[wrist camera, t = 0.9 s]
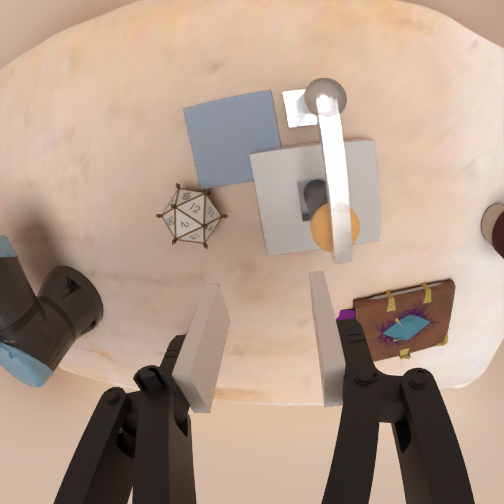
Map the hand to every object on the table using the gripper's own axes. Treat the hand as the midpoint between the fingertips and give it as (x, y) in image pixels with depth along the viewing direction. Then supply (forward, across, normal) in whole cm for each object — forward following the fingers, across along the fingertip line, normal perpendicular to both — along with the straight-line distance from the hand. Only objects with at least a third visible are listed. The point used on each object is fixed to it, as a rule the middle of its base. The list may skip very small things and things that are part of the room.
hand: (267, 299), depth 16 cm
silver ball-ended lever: (+11, +6, +4) cm, 13 cm away
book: (+27, +19, -28) cm, 44 cm away
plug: (+26, +6, -2) cm, 26 cm away
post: (+27, +6, +10) cm, 29 cm away
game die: (+27, -11, -1) cm, 29 cm away
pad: (+27, -4, +8) cm, 28 cm away
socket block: (+27, +6, -2) cm, 27 cm away
